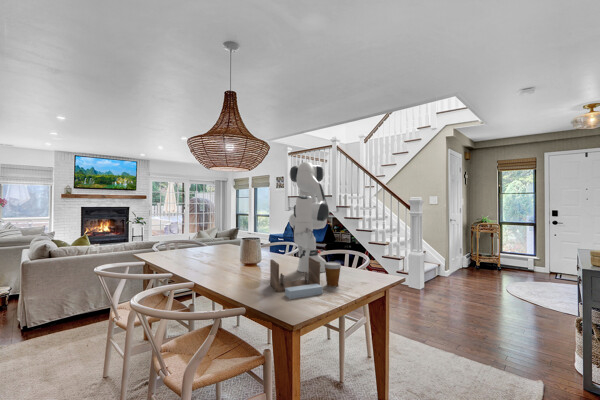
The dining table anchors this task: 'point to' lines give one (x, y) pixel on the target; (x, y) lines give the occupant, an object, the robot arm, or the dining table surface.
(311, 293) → the shelf board
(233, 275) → the dining table surface
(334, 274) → the disposable coffee cup
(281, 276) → the shelf rack
